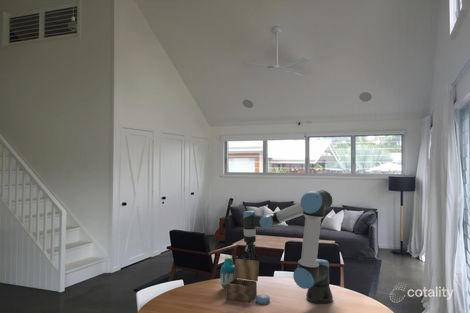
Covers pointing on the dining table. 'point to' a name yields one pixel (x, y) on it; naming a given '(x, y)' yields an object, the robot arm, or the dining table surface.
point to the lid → (246, 269)
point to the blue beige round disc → (262, 299)
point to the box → (241, 290)
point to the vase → (227, 272)
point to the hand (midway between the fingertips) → (250, 272)
